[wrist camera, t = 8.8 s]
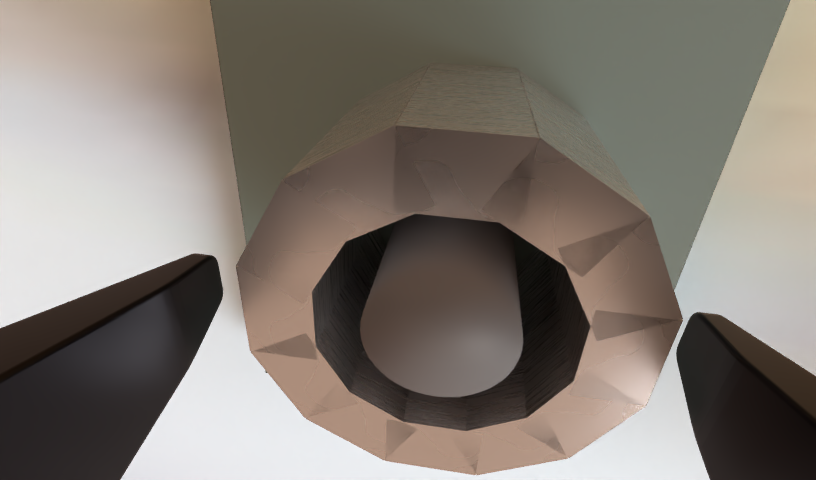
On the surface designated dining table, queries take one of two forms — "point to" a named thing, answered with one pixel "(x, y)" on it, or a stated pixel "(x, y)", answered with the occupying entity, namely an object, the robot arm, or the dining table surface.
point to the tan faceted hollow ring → (477, 200)
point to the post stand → (498, 47)
